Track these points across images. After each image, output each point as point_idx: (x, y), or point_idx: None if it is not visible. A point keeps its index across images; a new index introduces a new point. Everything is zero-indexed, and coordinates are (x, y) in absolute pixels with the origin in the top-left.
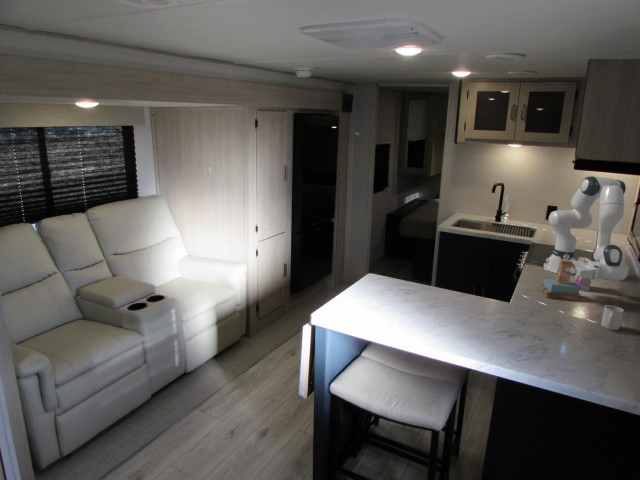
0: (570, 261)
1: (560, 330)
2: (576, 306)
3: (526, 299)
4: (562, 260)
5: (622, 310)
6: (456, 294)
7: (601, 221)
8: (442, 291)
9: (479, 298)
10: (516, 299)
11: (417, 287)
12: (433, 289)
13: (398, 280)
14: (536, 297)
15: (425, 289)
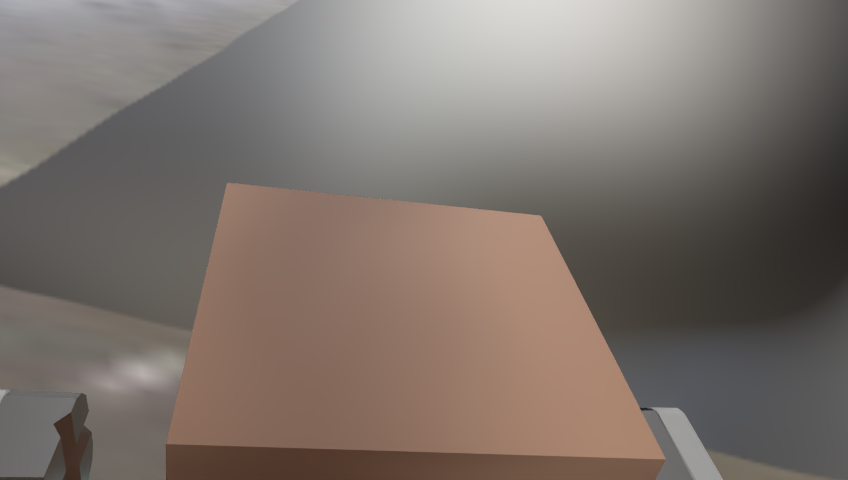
0: (333, 395)
1: None
2: None
3: (36, 367)
4: (356, 213)
5: None
6: (111, 88)
7: None
8: (153, 65)
9: (43, 140)
10: (32, 298)
11: (192, 29)
12: (177, 52)
13: (272, 14)
14: (121, 471)
15: (169, 38)
